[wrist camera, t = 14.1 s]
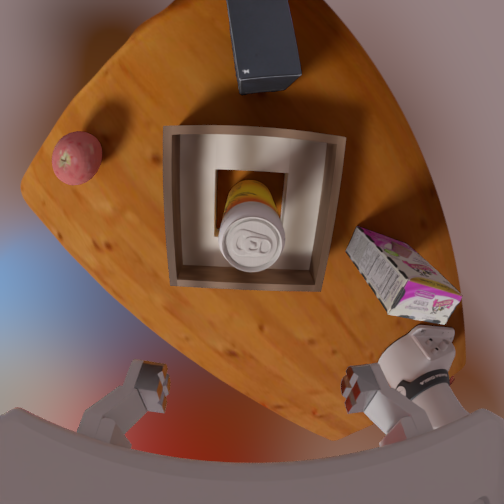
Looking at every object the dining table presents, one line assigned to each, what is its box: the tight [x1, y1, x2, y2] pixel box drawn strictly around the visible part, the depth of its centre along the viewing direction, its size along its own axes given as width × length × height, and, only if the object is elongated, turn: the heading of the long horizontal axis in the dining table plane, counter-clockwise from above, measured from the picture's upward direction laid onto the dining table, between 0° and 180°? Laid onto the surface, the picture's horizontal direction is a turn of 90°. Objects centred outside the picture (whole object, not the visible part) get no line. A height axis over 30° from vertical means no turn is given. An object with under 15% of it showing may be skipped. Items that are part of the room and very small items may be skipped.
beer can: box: [218, 180, 285, 272], centre depth 30 cm, size 6×6×15 cm
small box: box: [226, 0, 302, 95], centre depth 24 cm, size 11×6×10 cm, turn 8°
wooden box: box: [163, 125, 346, 292], centre depth 34 cm, size 20×20×7 cm
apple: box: [52, 131, 102, 185], centre depth 29 cm, size 7×7×8 cm
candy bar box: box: [345, 226, 463, 325], centre depth 33 cm, size 11×5×16 cm, turn 74°
